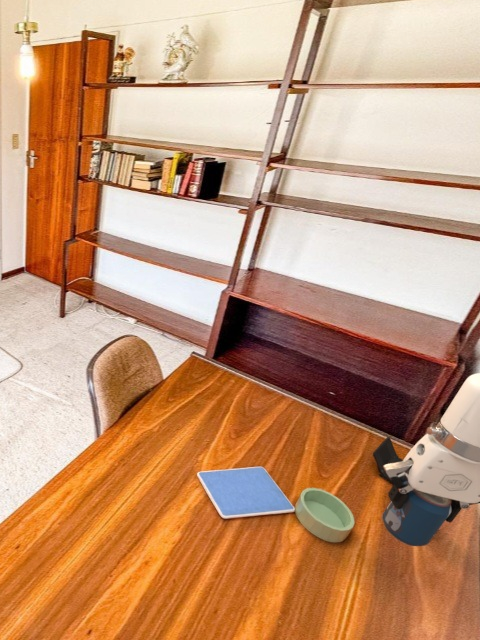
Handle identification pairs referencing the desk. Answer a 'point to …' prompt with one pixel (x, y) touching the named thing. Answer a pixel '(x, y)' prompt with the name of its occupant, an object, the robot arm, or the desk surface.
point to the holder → (324, 515)
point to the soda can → (417, 517)
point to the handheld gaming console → (386, 457)
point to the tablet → (244, 492)
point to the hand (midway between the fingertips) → (418, 508)
